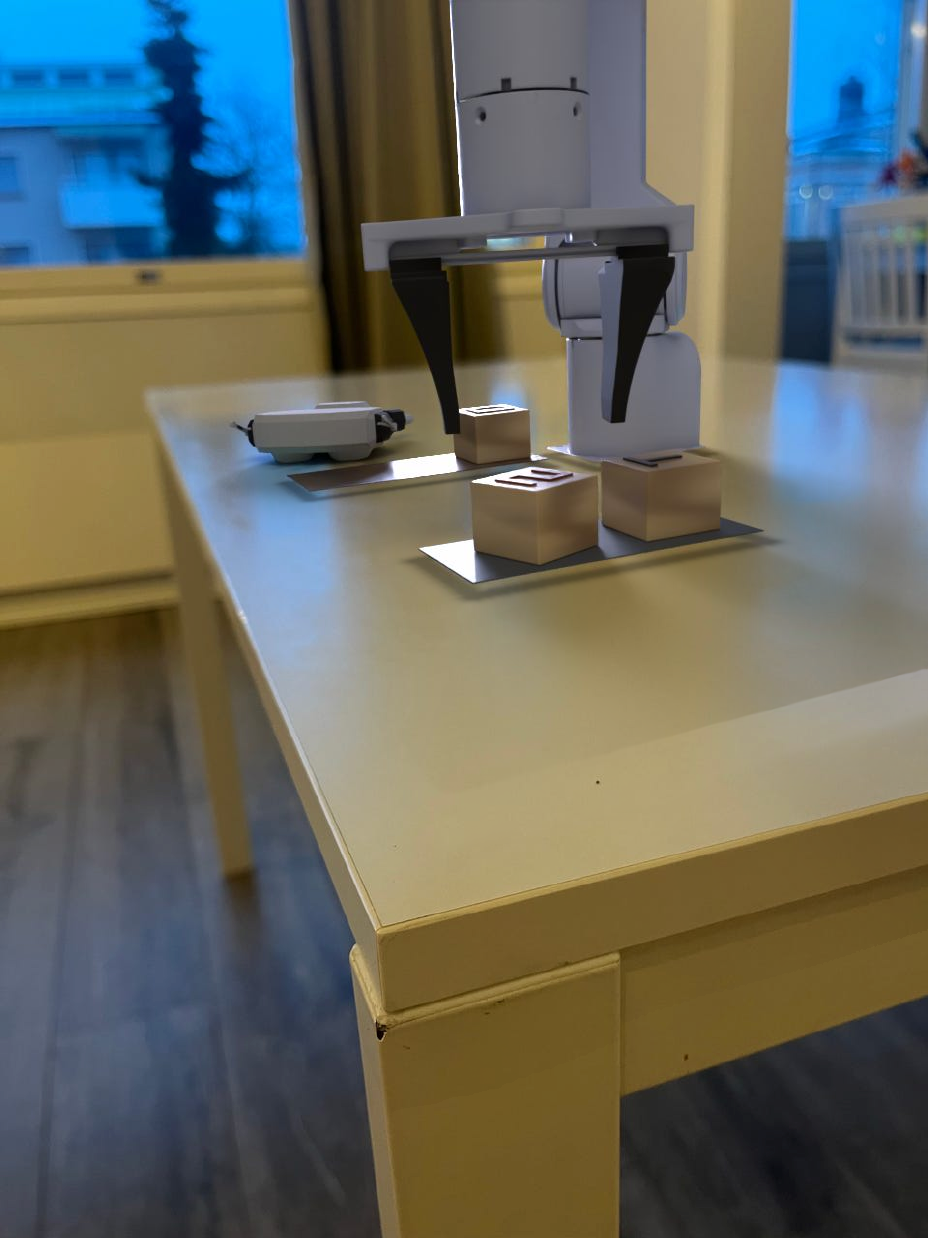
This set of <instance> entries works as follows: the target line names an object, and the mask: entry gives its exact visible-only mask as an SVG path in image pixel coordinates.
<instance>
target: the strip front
mask: <svg viewBox="0 0 928 1238" xmlns="http://www.w3.org/2000/svg"><path fill="white" fill-rule="evenodd" d="M762 532H765V530H764V529H761V528H758V527H755V526H751V525H749V524H745V523H742V522H738V521H735V520H732V519H729V518H726V517H722V516H721V519H720V529H718V530H712V531H706V532H701V533H695V534H689V535H684V536H678V537H672V538H667V539H661V540H655V541H650V542H646V541H643V540H641V539H638V538H636V537H633V536H630V535H628V534H625V533H623V532H620V531H618V530H615V529H612V528H610V527H607V526H605V525H602V523H601V518H599V544H598V545H597V546H594V547H591V548H588V549H585V550H583V551H580V552H577V553H574V554H571V555H568V556H565V557H562V558H560V559H557V560H554V561H551V562H548V563H545V564H542V565H535V564H530V563H526V562H521V561H517V560H512V559H508V558H503V557H499V556H494V555H490V554H485V553H481V552H476V551H474V544H473V539H467V540H462V541H456V542H450V543H449V542H448V543H443V544H438V545H431V546H424V547H419V548H418V551H420V552H422V553H423V554H424V555H426V556H427V557H429V558H431V559H433V560H434V561H435V562H437V563H438V564H440V565H442V566H444V567H445V568H447V569H448V570H450V571H451V572H452V573H454V574H456V575H457V576H459V577H461V578H462V579H464V580H465V581H467V582H469V583H470V584H471V585H477V584H483V583H487V582H492V581H499V580H504V579H508V578H514V577H515V578H516V577H520V576H525V575H531V574H535V573H543V572H547V571H553V570H558V569H563V568H569V567H575V566H579V565H580V566H581V565H586V564H591V563H596V562H603V561H609V560H613V559H614V560H615V559H619V558H623V557H630V556H634V555H641V554H645V553H651V552H657V551H662V550H663V551H664V550H668V549H673V548H674V549H675V548H679V547H684V546H690V545H695V544H696V545H697V544H701V543H707V542H712V541H718V540H722V539H723V540H724V539H728V538H729V539H730V538H734V537H738V536H739V537H740V536H745V535H751V534H757V533H762Z"/></svg>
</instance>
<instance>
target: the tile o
mask: <svg viewBox="0 0 928 1238" xmlns="http://www.w3.org/2000/svg"><path fill="white" fill-rule="evenodd" d="M459 411H460V432H461V434H452V436H453V448H454V449H453V450H454V451H453V454H454V453H455V456H456V457H459V458H461V459H464V460H467V461H470V462H473V463H475V464H485V463H492V462H500V461H507V460H515V459H522V458H529V457H531V454H532V445H531V443H532V442H531V441H532V440H531V416H530V413H531V411H530V409H527V408H522V407H518V406H513V405H509V404H495V405H488V406H479V407H478V406H477V407H469V408H461V409H460V408H459Z"/></svg>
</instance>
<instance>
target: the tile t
mask: <svg viewBox="0 0 928 1238" xmlns="http://www.w3.org/2000/svg"><path fill="white" fill-rule="evenodd" d="M722 482H723V461H722V460H720V459H715V458H711V457H706V456H703V455H702V456H701V455H698V454H693V453H688V452H683V451H676V450H664V451H657V452H650V453H643V454H635V455H628V456H621V457H614V458H606V459H602V460H601V462H600V503H601V504H600V507H601V510H600V512H601V513H600V514H601V515H600V517H601V518H600V519H601V523H602V525H605V526H607V527H610V528H612V529H615V530H618V531H620V532H623V533H625V534H628V535H630V536H633V537H636V538H638V539H641V540H643V541H646V542H650V541H655V540H661V539H667V538H672V537H678V536H684V535H689V534H695V533H701V532H706V531H712V530H718V529H720V519H721V517H722V516H721V514H722V490H723V489H722V487H723V486H722V485H723V483H722Z"/></svg>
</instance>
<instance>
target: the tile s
mask: <svg viewBox="0 0 928 1238" xmlns="http://www.w3.org/2000/svg"><path fill="white" fill-rule="evenodd" d="M469 487H470V488H469V489H470V505H471V522H472V523H471V525H472V540H473V544H474V551H476V552H481V553H485V554H490V555H494V556H499V557H503V558H508V559H512V560H517V561H521V562H526V563H530V564H535V565H542V564H545V563H548V562H551V561H554V560H557V559H560V558H562V557H565V556H568V555H571V554H574V553H577V552H580V551H583V550H585V549H588V548H591V547H594V546H597V545H598V544H599V519H600V517H599V476H598V474H593V473H592V474H591V473H585V472H575V471H568V470H560V469H552V468H545V467H544V468H543V467H537V466H529V467H524V468H521V469H517V470H516V469H515V470H512V471H509V472H504V473H500V474H496V475H493V476H488V477H484V478H479V479H476V480H471V481H470V482H469Z"/></svg>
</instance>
